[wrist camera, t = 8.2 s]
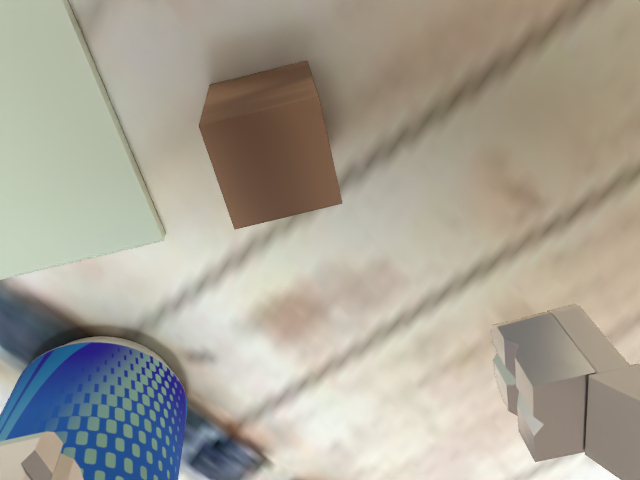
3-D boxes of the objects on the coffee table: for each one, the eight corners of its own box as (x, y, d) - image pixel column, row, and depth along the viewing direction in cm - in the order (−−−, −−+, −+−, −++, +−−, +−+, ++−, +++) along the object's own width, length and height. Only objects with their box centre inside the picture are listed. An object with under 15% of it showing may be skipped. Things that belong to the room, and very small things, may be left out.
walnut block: (306, 60, 22) (318, 96, 18) (327, 151, 24) (342, 203, 20) (209, 84, 23) (198, 125, 18) (238, 173, 25) (234, 229, 20)
